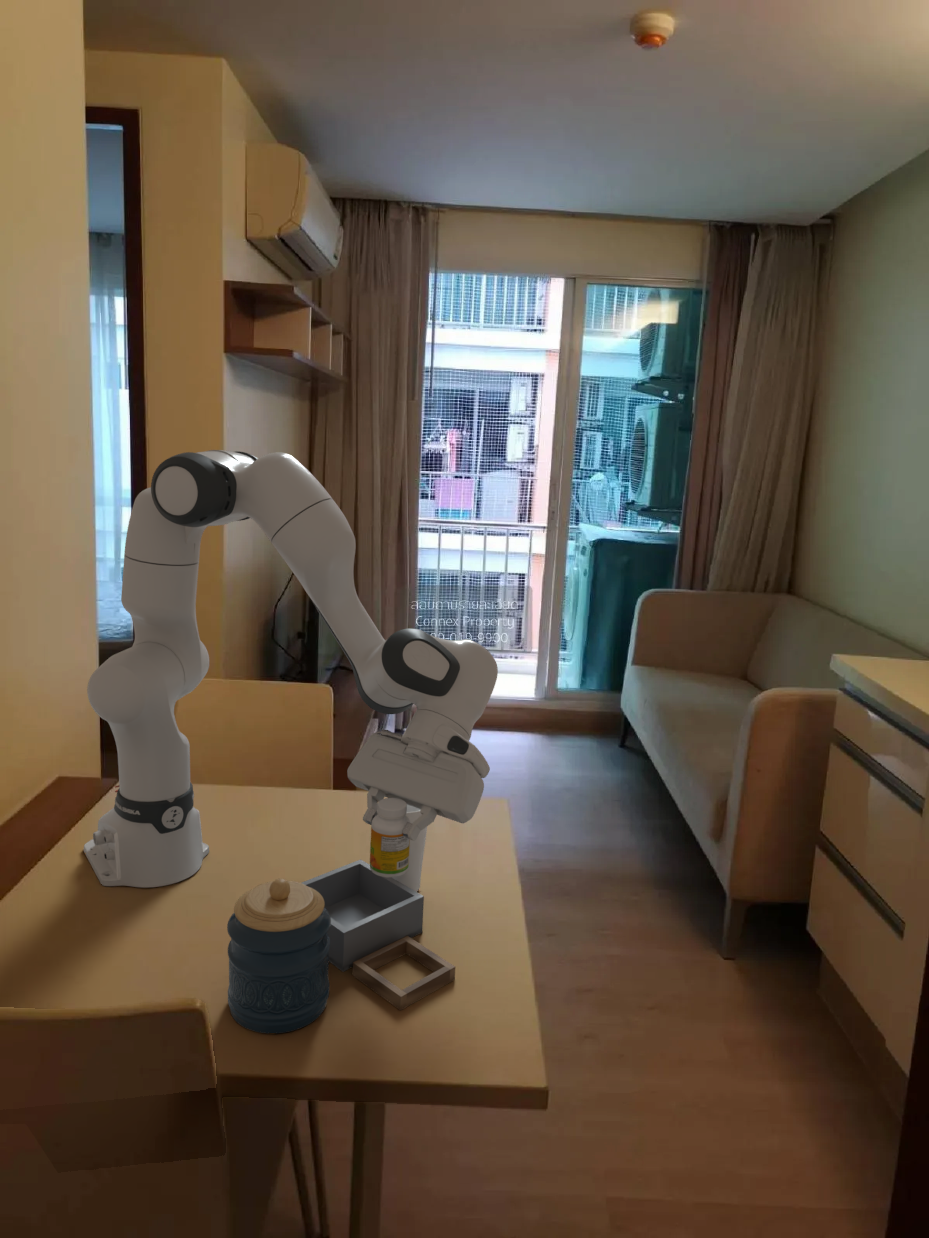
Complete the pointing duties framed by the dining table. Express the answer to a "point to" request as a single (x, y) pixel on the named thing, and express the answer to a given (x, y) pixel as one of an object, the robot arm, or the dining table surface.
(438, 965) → the socket collar
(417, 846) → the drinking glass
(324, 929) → the canister
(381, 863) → the supplement bottle
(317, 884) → the bin
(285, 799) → the dining table surface
